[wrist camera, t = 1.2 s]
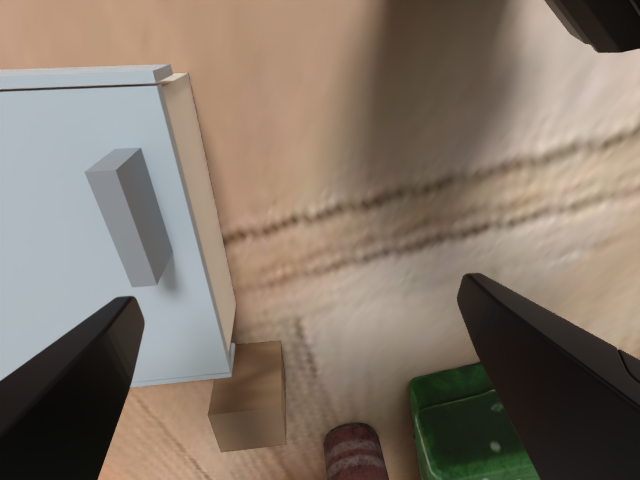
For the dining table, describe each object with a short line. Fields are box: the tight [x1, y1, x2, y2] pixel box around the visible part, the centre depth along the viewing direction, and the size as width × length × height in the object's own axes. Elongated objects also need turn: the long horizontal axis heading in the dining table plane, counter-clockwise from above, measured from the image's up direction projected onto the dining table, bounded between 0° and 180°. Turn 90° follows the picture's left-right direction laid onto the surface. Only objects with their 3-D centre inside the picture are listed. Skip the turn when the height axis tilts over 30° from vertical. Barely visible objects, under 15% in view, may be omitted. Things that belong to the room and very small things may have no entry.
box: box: [410, 363, 540, 480], centre depth 37 cm, size 32×18×10 cm, turn 12°
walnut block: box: [208, 341, 287, 452], centre depth 27 cm, size 5×5×6 cm
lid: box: [0, 64, 235, 387], centre depth 16 cm, size 13×17×5 cm
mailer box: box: [0, 73, 236, 353], centre depth 19 cm, size 13×16×5 cm
